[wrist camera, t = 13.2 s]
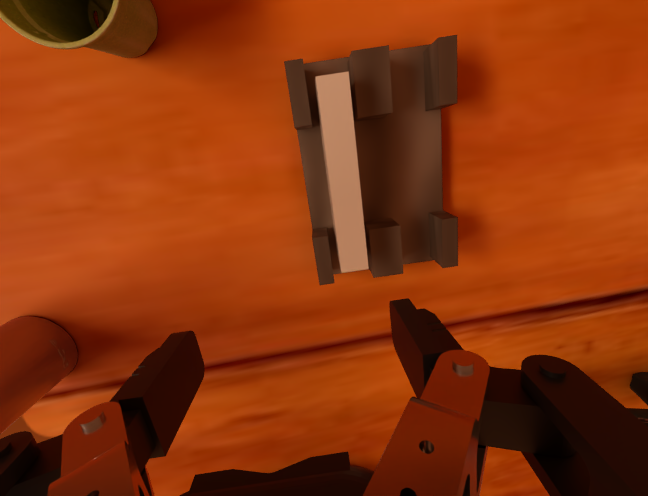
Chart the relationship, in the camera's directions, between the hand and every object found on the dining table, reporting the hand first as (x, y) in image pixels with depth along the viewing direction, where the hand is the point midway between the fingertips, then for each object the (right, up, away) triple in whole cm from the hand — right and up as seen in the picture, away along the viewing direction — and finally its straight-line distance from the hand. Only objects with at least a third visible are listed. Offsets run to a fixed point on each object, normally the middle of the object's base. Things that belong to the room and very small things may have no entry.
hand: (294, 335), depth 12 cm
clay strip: (+3, +11, +18) cm, 21 cm away
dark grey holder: (+6, +12, +20) cm, 24 cm away
